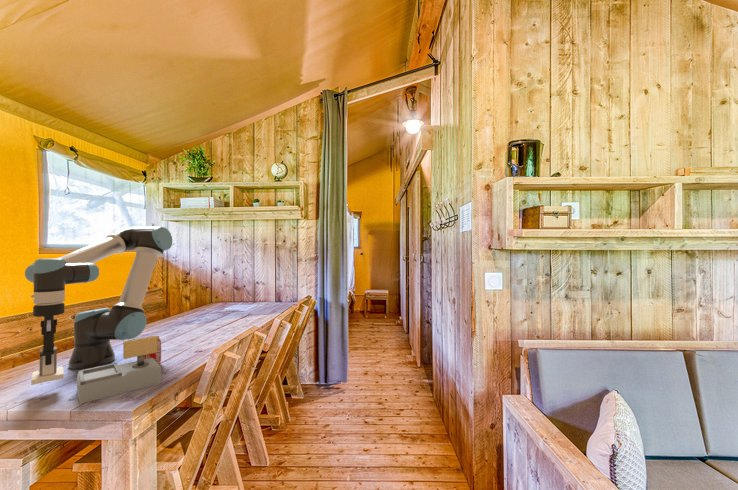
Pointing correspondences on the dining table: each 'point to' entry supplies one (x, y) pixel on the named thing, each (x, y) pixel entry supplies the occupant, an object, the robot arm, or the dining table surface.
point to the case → (116, 379)
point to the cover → (40, 378)
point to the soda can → (156, 355)
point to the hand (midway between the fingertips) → (48, 371)
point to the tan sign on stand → (139, 348)
